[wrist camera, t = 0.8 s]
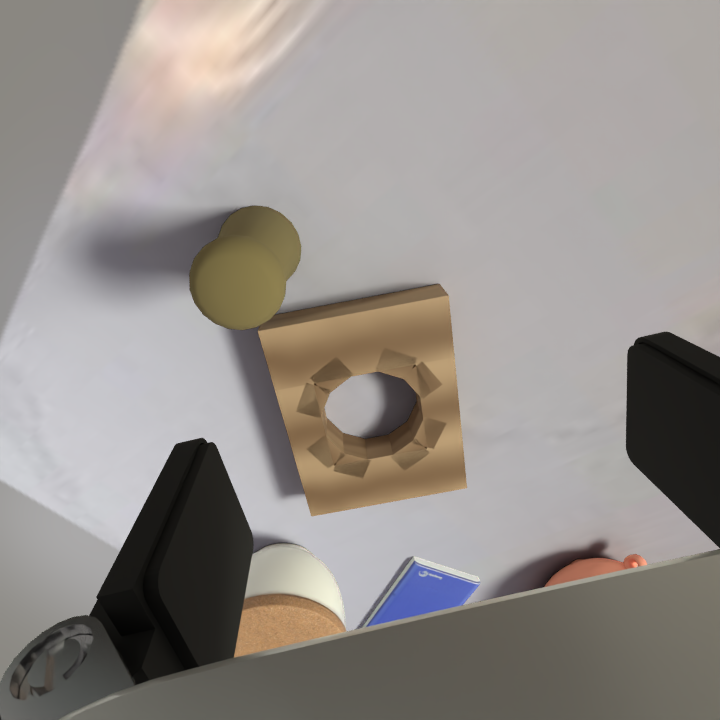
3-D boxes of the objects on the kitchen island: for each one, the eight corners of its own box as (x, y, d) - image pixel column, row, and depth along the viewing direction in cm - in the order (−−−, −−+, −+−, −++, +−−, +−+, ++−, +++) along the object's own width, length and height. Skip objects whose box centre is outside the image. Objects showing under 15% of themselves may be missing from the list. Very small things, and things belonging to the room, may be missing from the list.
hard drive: (415, 564, 48) (360, 637, 52) (481, 585, 50) (423, 654, 54) (412, 551, 49) (359, 624, 54) (477, 573, 51) (421, 641, 56)
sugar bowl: (508, 608, 53) (546, 706, 44) (578, 520, 48) (639, 610, 39) (593, 630, 56) (646, 727, 47) (669, 549, 51) (745, 640, 42)
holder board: (262, 317, 37) (257, 331, 34) (439, 283, 36) (448, 295, 34) (312, 493, 44) (311, 516, 42) (458, 466, 44) (467, 488, 41)
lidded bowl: (236, 617, 51) (214, 733, 41) (207, 531, 45) (173, 641, 35) (351, 601, 51) (357, 713, 41) (335, 514, 46) (338, 618, 36)
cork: (313, 272, 35) (309, 323, 25) (240, 299, 36) (207, 360, 26) (281, 192, 33) (262, 215, 23) (202, 223, 33) (150, 258, 23)
